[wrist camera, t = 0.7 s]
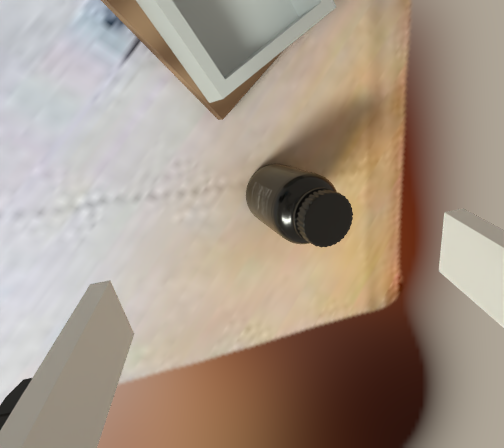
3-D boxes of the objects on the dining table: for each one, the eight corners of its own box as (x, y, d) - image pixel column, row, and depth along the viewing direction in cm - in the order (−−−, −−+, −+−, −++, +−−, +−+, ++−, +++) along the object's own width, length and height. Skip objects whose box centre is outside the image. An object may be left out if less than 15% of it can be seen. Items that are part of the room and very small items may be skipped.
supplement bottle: (275, 231, 38) (329, 273, 28) (232, 200, 36) (273, 234, 25) (309, 185, 38) (377, 209, 27) (269, 150, 35) (326, 162, 24)
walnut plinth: (97, -2, 27) (94, -13, 25) (206, -125, 27) (212, -148, 25) (217, 119, 33) (222, 119, 31) (305, 18, 33) (318, 10, 31)
